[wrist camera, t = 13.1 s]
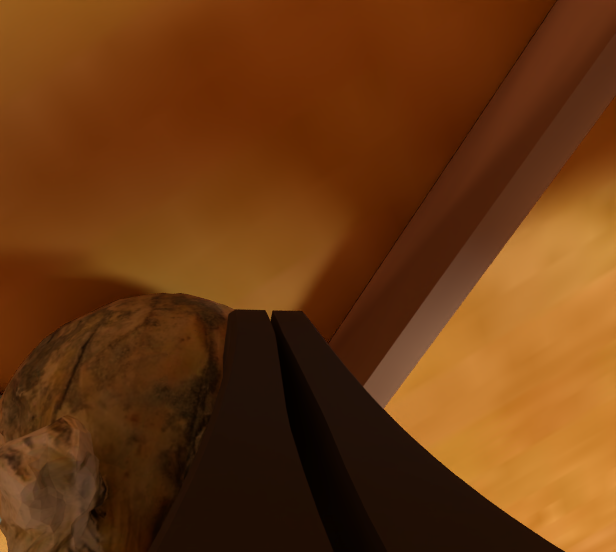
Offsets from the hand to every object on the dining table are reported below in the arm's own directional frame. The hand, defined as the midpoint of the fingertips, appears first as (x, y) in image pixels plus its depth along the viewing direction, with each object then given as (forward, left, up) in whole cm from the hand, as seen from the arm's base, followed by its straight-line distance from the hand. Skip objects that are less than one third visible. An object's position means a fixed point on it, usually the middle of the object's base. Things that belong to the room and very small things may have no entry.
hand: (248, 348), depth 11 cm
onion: (0, +4, -4) cm, 6 cm away
